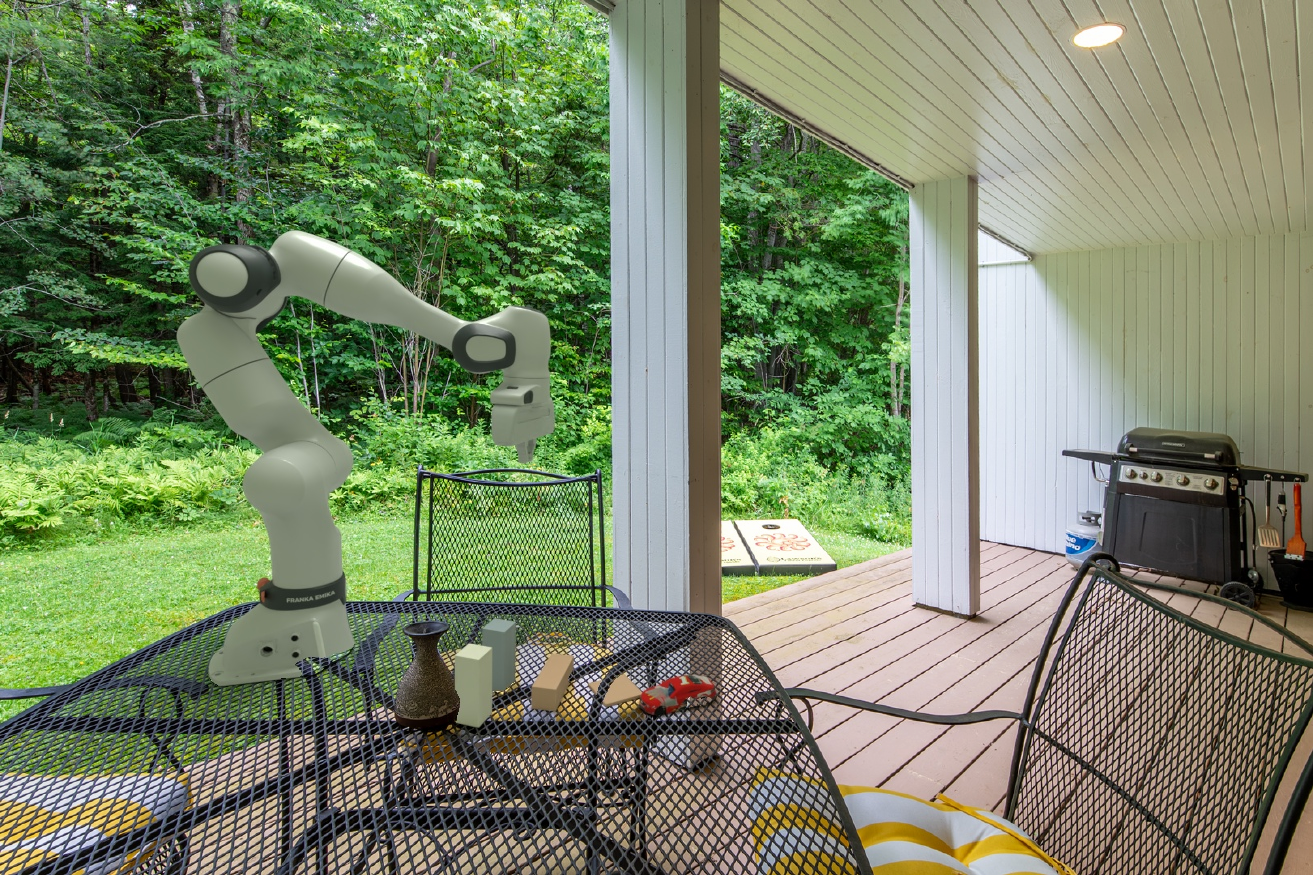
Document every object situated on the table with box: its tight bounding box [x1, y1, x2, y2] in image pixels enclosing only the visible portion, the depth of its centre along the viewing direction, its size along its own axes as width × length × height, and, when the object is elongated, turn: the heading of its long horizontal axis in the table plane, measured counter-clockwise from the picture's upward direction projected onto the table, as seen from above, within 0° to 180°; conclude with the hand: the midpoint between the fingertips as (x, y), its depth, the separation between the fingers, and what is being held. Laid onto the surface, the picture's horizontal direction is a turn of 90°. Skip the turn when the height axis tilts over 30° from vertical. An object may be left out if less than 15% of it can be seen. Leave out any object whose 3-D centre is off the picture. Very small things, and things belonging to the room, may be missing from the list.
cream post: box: [454, 643, 493, 729], centre depth 97 cm, size 4×4×11 cm
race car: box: [638, 674, 717, 717], centre depth 105 cm, size 13×5×4 cm, turn 113°
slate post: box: [481, 617, 517, 691], centre depth 106 cm, size 4×4×11 cm
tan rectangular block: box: [530, 652, 575, 712], centre depth 106 cm, size 4×4×11 cm
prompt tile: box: [587, 673, 643, 708], centre depth 107 cm, size 7×7×1 cm
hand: (525, 462), depth 124 cm, fingers closed
